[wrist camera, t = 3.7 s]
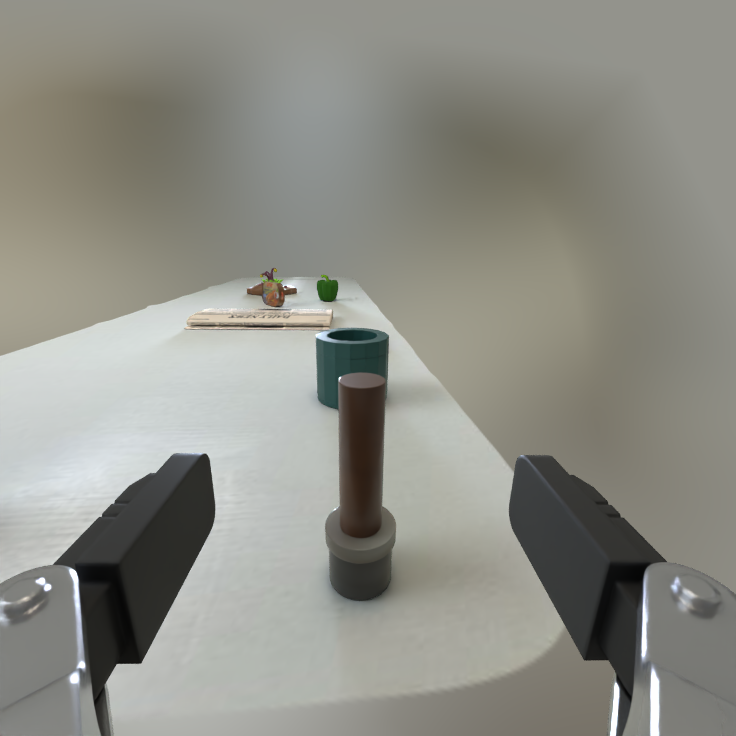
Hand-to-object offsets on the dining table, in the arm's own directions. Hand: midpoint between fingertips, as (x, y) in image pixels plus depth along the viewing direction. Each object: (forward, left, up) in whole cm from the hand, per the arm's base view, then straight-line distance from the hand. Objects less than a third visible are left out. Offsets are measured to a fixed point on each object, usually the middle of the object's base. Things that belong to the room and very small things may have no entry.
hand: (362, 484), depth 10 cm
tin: (+59, -120, -15) cm, 134 cm away
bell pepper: (+44, -138, -15) cm, 145 cm away
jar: (+10, -41, -14) cm, 44 cm away
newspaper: (+47, -89, -15) cm, 102 cm away
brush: (+2, -11, -14) cm, 18 cm away
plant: (+76, -155, -15) cm, 173 cm away
